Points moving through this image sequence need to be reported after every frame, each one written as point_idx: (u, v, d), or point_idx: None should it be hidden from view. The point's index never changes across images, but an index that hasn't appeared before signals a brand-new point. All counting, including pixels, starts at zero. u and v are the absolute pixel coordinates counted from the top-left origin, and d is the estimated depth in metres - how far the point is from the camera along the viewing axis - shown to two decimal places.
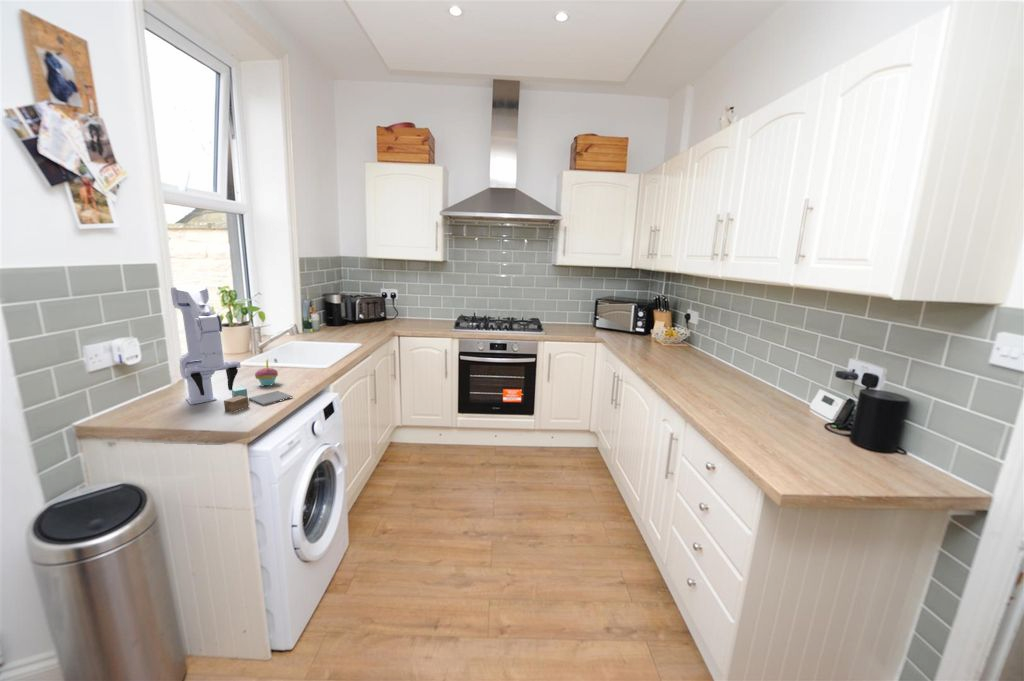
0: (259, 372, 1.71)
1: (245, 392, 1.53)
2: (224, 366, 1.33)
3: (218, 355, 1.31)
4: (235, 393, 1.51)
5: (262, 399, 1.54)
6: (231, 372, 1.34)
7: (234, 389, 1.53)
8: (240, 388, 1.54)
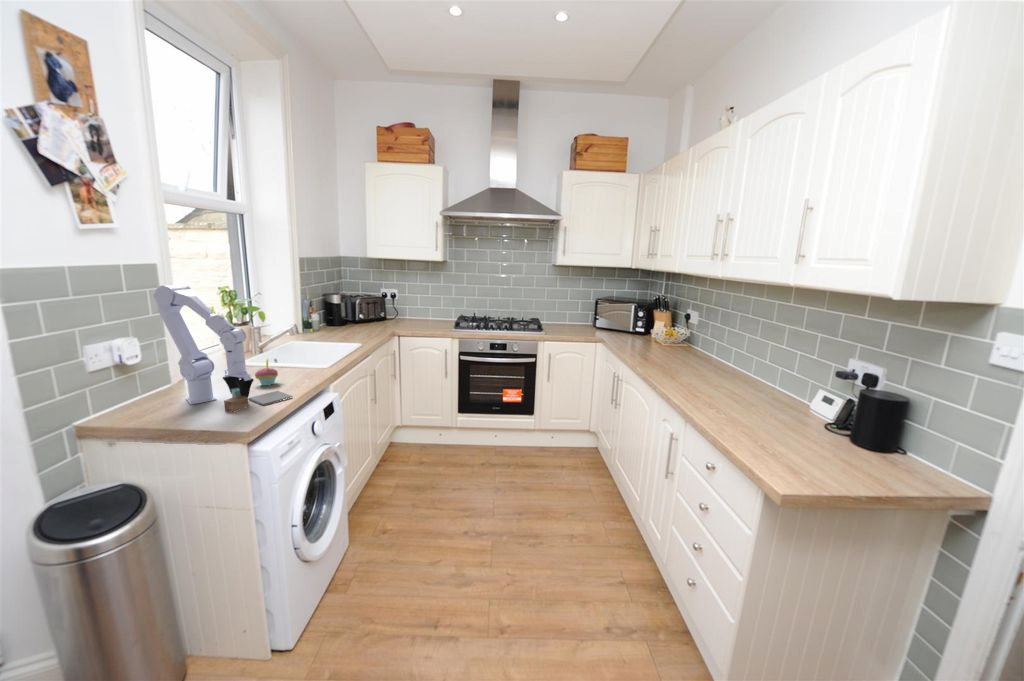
0: (259, 372, 1.71)
1: None
2: (234, 375, 1.49)
3: (230, 364, 1.49)
4: (235, 393, 1.51)
5: (262, 399, 1.54)
6: (236, 382, 1.48)
7: (233, 389, 1.53)
8: None
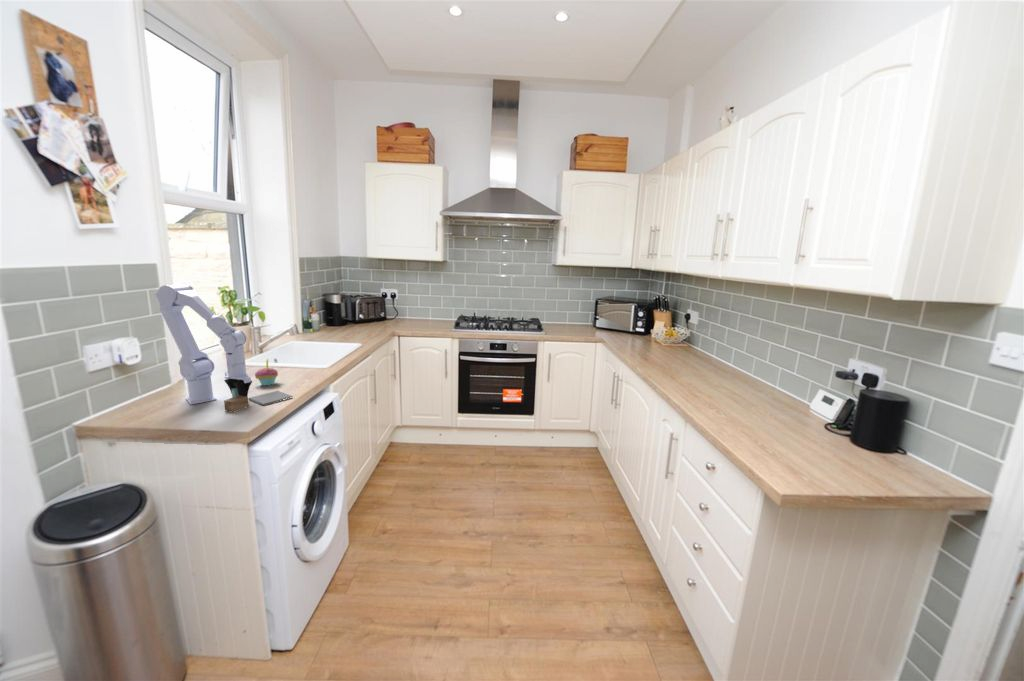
0: (259, 372, 1.71)
1: None
2: (234, 377, 1.49)
3: (230, 367, 1.49)
4: (235, 393, 1.51)
5: (262, 399, 1.54)
6: (234, 384, 1.49)
7: (234, 389, 1.53)
8: None
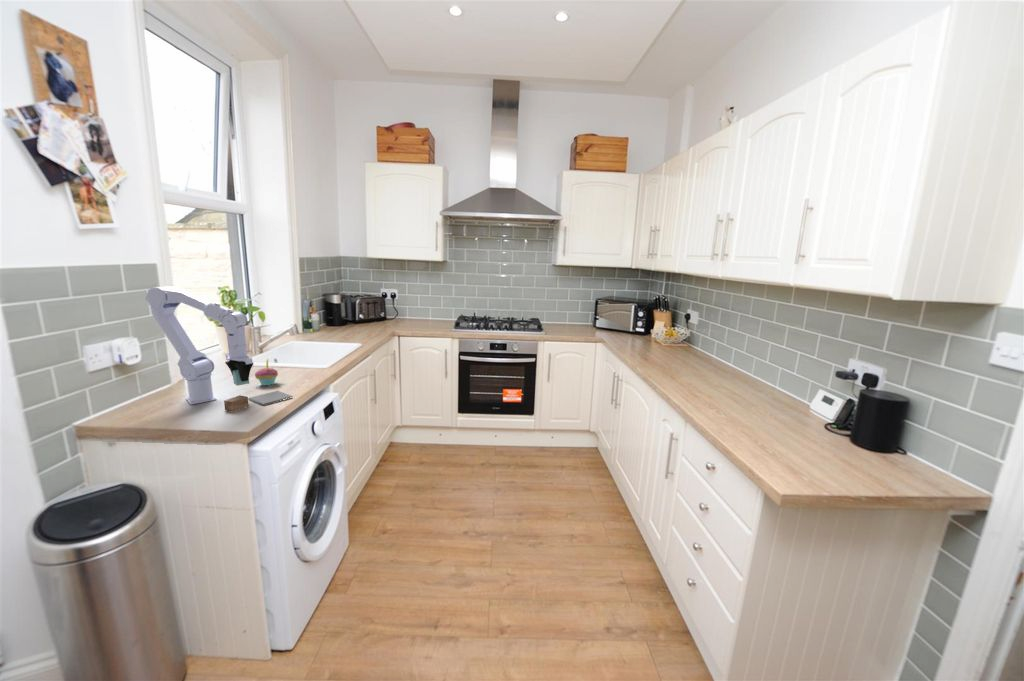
0: (259, 372, 1.71)
1: None
2: (235, 359, 1.48)
3: (231, 348, 1.48)
4: (236, 375, 1.50)
5: (262, 399, 1.54)
6: (235, 365, 1.48)
7: (235, 371, 1.52)
8: None
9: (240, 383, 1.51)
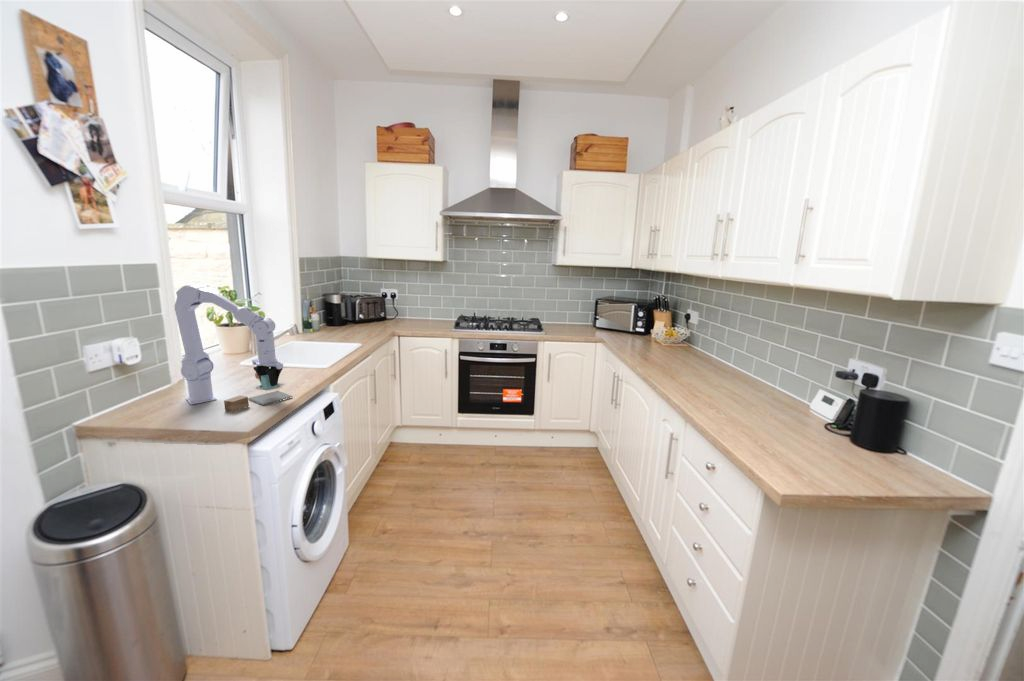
0: None
1: None
2: (266, 364, 1.52)
3: (262, 354, 1.51)
4: (266, 380, 1.53)
5: (262, 399, 1.54)
6: (266, 370, 1.52)
7: (263, 376, 1.55)
8: None
9: (269, 388, 1.55)
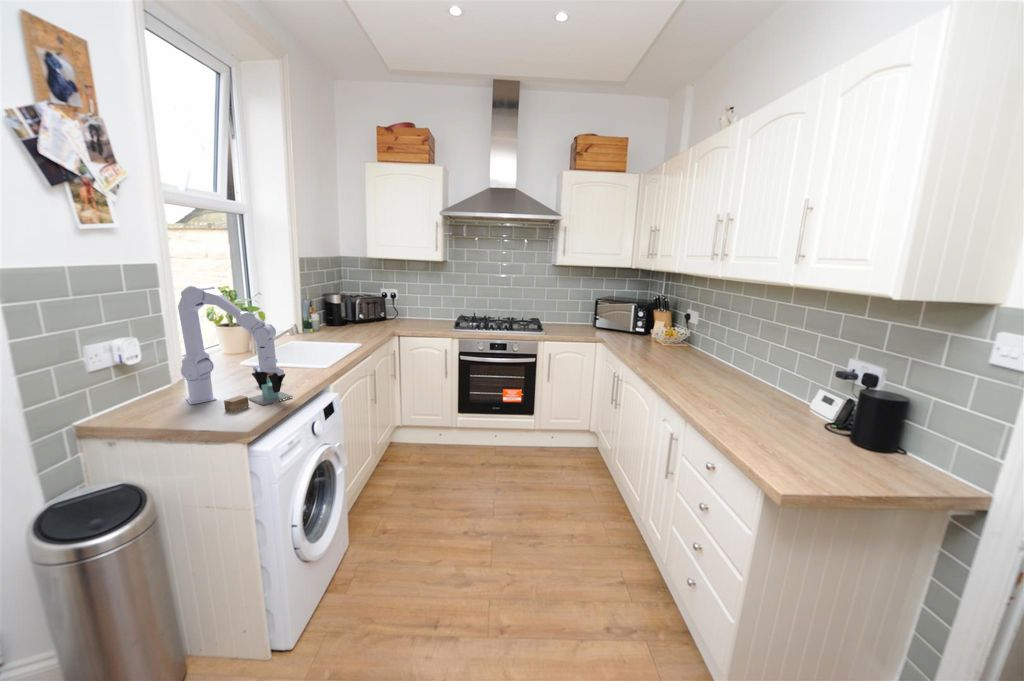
0: None
1: None
2: (266, 370, 1.52)
3: (262, 360, 1.52)
4: (267, 389, 1.54)
5: (262, 399, 1.54)
6: (269, 377, 1.52)
7: (264, 385, 1.56)
8: (270, 384, 1.57)
9: (270, 397, 1.56)
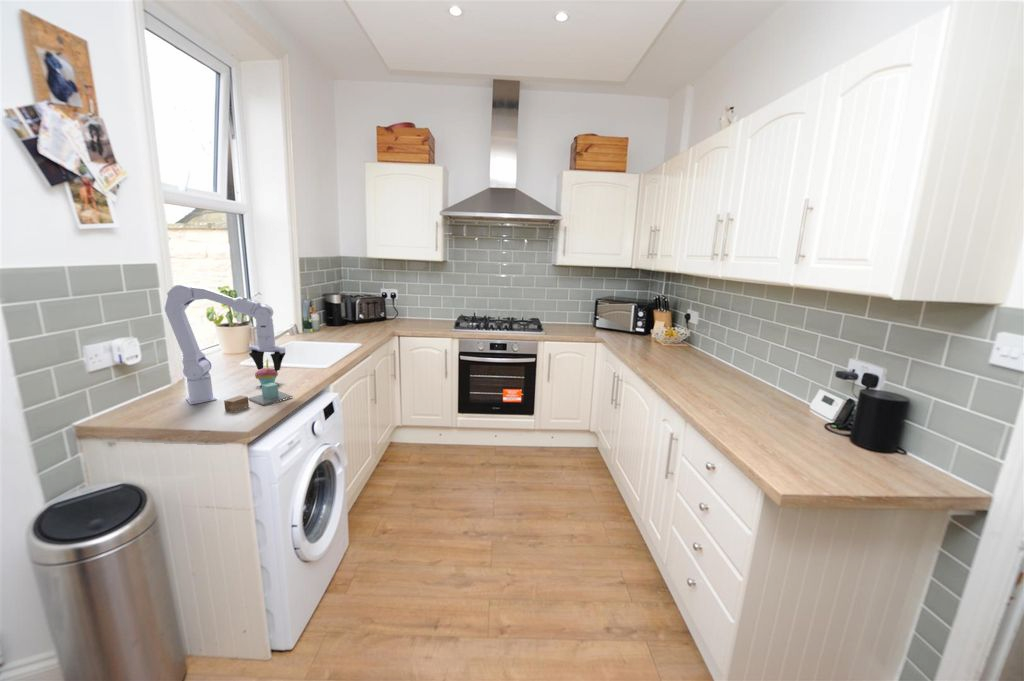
0: (259, 372, 1.71)
1: (276, 387, 1.57)
2: (268, 349, 1.56)
3: (263, 339, 1.55)
4: (267, 389, 1.54)
5: (262, 399, 1.54)
6: (271, 355, 1.56)
7: (264, 385, 1.56)
8: (270, 384, 1.57)
9: (270, 397, 1.56)
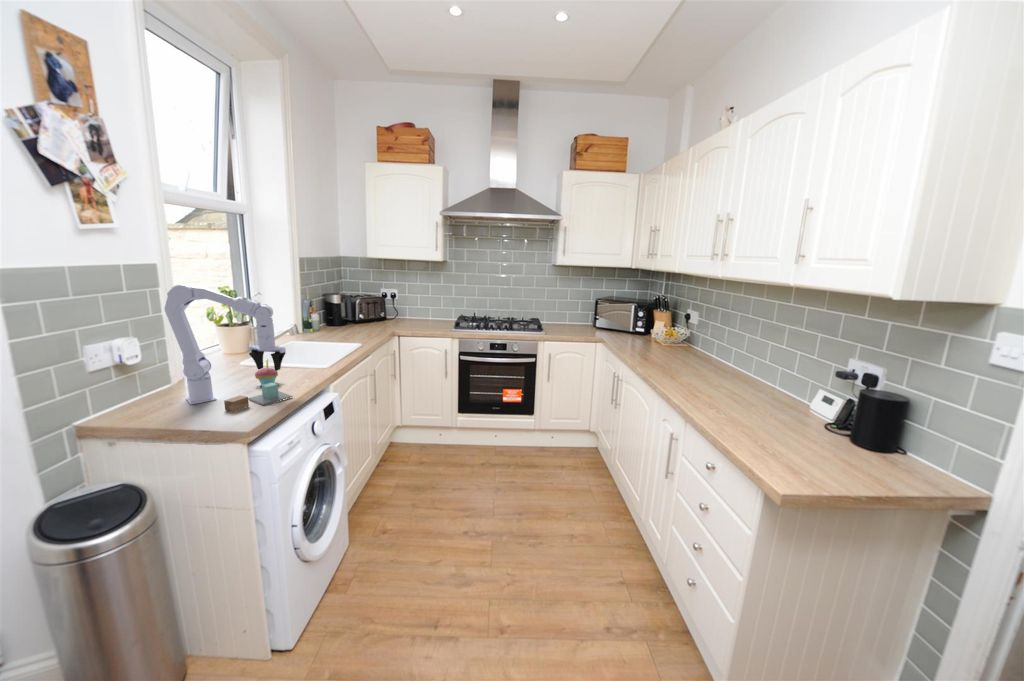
0: (259, 372, 1.71)
1: (276, 387, 1.57)
2: (268, 349, 1.57)
3: (263, 339, 1.56)
4: (267, 389, 1.54)
5: (262, 399, 1.54)
6: (272, 355, 1.57)
7: (264, 385, 1.56)
8: (270, 384, 1.57)
9: (270, 397, 1.56)
